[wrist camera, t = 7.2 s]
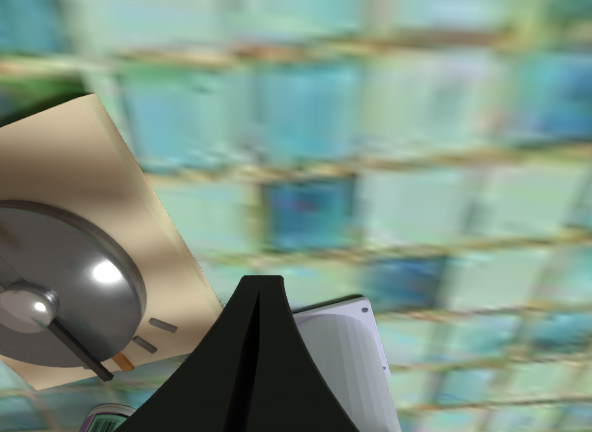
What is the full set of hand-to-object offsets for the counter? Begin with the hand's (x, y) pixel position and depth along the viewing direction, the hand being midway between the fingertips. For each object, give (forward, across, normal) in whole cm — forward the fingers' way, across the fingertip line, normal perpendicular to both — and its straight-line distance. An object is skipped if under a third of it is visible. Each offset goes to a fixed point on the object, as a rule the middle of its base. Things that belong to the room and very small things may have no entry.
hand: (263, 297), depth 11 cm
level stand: (+9, +14, +6) cm, 18 cm away
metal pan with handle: (+8, +15, +5) cm, 17 cm away
